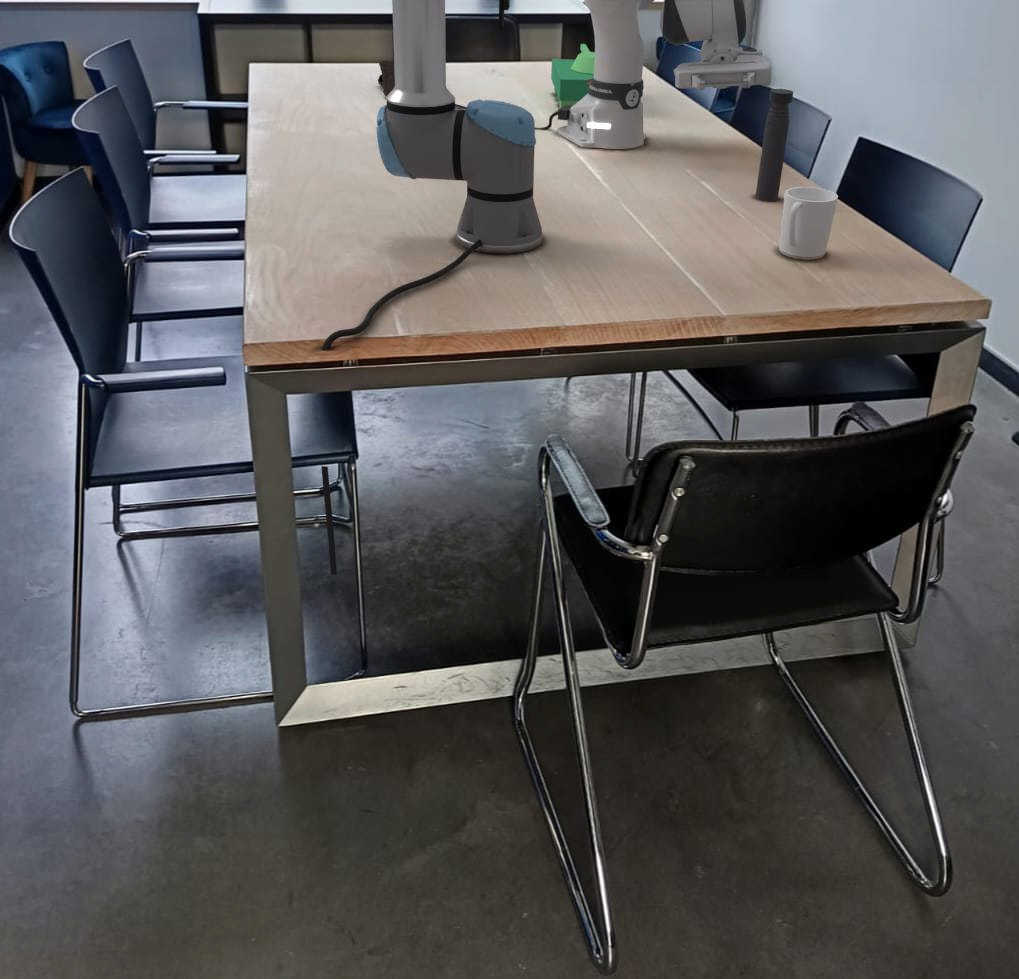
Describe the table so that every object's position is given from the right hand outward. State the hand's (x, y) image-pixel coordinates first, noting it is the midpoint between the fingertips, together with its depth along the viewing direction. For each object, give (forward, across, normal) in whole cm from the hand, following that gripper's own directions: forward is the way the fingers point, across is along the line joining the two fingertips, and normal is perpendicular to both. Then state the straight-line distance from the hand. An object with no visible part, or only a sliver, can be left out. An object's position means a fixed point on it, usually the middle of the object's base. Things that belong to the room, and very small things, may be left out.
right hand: (723, 85), depth 229 cm
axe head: (-63, -84, +16) cm, 106 cm away
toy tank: (-62, -34, +21) cm, 74 cm away
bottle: (+20, +8, +17) cm, 27 cm away
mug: (+54, +11, +14) cm, 57 cm away
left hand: (+4, -52, -15) cm, 55 cm away
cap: (+18, +10, -3) cm, 21 cm away
